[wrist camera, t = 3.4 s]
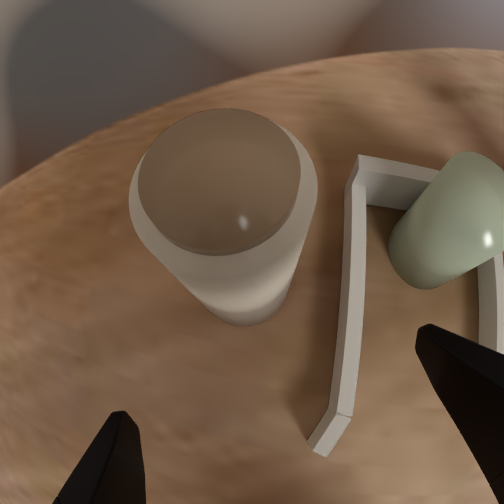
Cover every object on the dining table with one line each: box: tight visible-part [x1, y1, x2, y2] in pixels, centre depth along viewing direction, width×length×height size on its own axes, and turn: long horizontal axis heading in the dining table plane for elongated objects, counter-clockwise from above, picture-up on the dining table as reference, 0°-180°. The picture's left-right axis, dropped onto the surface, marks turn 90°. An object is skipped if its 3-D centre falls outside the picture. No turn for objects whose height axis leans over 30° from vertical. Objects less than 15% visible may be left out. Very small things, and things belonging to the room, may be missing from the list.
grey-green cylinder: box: [388, 151, 504, 290], centre depth 18 cm, size 6×6×9 cm
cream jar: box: [129, 109, 318, 326], centre depth 16 cm, size 6×6×14 cm
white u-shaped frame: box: [307, 154, 504, 457], centre depth 19 cm, size 19×15×4 cm
